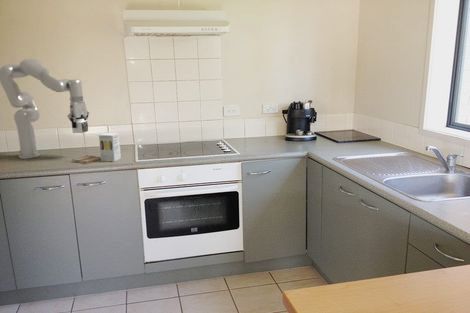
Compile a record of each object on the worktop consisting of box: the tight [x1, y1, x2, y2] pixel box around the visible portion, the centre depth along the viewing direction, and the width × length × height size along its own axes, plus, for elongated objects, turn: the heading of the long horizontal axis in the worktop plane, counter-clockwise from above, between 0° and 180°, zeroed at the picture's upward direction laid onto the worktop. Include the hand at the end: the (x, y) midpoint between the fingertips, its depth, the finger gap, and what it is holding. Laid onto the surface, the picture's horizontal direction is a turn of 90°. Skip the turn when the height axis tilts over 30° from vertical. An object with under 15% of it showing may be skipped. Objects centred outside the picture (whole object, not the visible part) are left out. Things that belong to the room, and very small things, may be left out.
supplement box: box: [98, 132, 122, 163], centre depth 259 cm, size 10×9×17 cm
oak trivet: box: [71, 155, 101, 164], centre depth 260 cm, size 12×12×2 cm
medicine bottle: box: [70, 115, 89, 134], centre depth 263 cm, size 7×7×12 cm
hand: (79, 126), depth 264 cm, fingers closed on medicine bottle, 8 cm apart
